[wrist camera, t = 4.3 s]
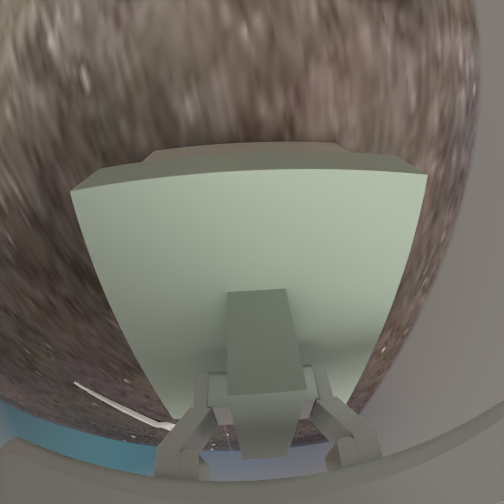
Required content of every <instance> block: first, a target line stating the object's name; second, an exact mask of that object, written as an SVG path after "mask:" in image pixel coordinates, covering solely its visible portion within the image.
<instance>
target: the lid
mask: <svg viewBox="0 0 504 504" xmlns="http://www.w3.org/2000/svg"><path fill="white" fill-rule="evenodd" d="M427 176H428V175H427V174H426V173H424V172H422V171H421V170H419V169H417V168H416V167H414V166H412V165H410V164H409V163H407V162H405V161H403V160H402V159H400V158H398V157H396V156H392V155H381V154H368V153H351V152H327V151H263V152H239V153H222V154H208V155H197V156H186V157H177V158H168V159H160V160H152V161H145V162H138V163H131V164H125V165H119V166H113V167H108V168H102V169H98V170H97V171H96V172H94V173H93V174H92V175H90V176H89V177H88V178H86V179H85V180H84V181H82V182H81V183H80V184H79V185H77V186H76V187H75V188H73V189H72V190H71V191H70V194H71V197H72V201H73V205H74V208H75V212H76V215H77V218H78V222H79V225H80V228H81V231H82V234H83V237H84V240H85V243H86V246H87V249H88V252H89V255H90V257H91V260H92V263H93V265H94V268H95V271H96V273H97V276H98V278H99V281H100V283H101V286H102V288H103V290H104V293H105V295H106V297H107V300H108V302H109V304H110V307H111V309H112V311H113V313H114V315H115V317H116V320H117V322H118V324H119V326H120V328H121V330H122V332H123V334H124V336H125V338H126V340H127V342H128V344H129V346H130V348H131V350H132V351H133V353H134V355H135V357H136V359H137V361H138V362H139V364H140V366H141V368H142V370H143V371H144V373H145V375H146V376H147V378H148V380H149V382H150V383H151V385H152V387H153V388H154V390H155V391H156V393H157V395H158V396H159V398H160V399H161V401H162V403H163V404H164V406H165V407H166V409H167V410H168V412H169V413H170V415H171V416H172V418H173V419H181V418H182V416H183V415H184V414H185V413H186V411H187V410H188V409H189V408H193V403H194V389H195V376H196V373H197V372H205V371H210V372H218V371H227V397H228V401H229V405H230V410H231V414H232V418H233V422H234V426H235V430H236V434H237V438H238V442H239V446H240V450H241V454H242V458H243V459H259V458H273V457H283V456H287V454H288V451H289V448H290V445H291V442H292V439H293V436H294V433H295V429H296V426H297V423H298V420H299V416H300V413H301V409H302V406H303V402H304V399H305V395H306V392H307V386H306V381H305V376H304V371H303V367H302V365H307V364H316V363H323V364H324V365H325V368H326V371H327V375H328V379H329V382H330V386H331V390H332V394H333V397H338V398H339V399H340V400H341V401H342V402H344V403H345V404H346V403H347V401H348V399H349V398H350V396H351V394H352V392H353V390H354V388H355V386H356V384H357V383H358V381H359V379H360V377H361V375H362V373H363V371H364V369H365V366H366V364H367V362H368V360H369V358H370V356H371V354H372V352H373V349H374V347H375V345H376V343H377V340H378V338H379V336H380V333H381V331H382V329H383V326H384V324H385V321H386V319H387V316H388V314H389V311H390V309H391V306H392V303H393V301H394V298H395V295H396V292H397V290H398V287H399V284H400V281H401V278H402V275H403V272H404V269H405V266H406V262H407V259H408V256H409V252H410V249H411V246H412V242H413V238H414V235H415V231H416V227H417V223H418V219H419V215H420V211H421V206H422V202H423V197H424V192H425V187H426V182H427Z"/></svg>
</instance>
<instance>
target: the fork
mask: <svg viewBox="0 0 504 504" xmlns="http://www.w3.org/2000/svg"><path fill="white" fill-rule="evenodd" d="M74 384H76V385H77V386H79V387H81V388H82V389H84V390H85V391H87V392H89V393H90V394H92V395H94V396H95V397H97V398H99V399H101V400H102V401H104V402H106V403H108V404H110V405H111V406H113V407H115V408H117V409H119V410H121V411H123V412H125V413H127V414H129V415H131V416H133V417H135V418H137V419H139V420H141V421H143V422H145V423H147V424H150V425H152V426H154V427H162V428H165V429H167V430H169V431H171V430H172V429H173V427H174V426H175V424H172V423H169V422H157V421H155V420H153V419H150V418H148V417H146V416H144V415H141V414H139V413H137V412H135V411H133V410H131V409H129V408H126V407H124V406H122V405H120V404H118V403H116V402H113V401H111V400H109V399H107V398H105V397H103V396H101V395H99V394H97V393H95V392H93V391H92V390H90V389H88V388H86V387H84V386H82V385H81V384H79V383H77V382H74Z"/></svg>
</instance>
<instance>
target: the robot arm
mask: <svg viewBox="0 0 504 504" xmlns="http://www.w3.org/2000/svg"><path fill="white" fill-rule="evenodd" d="M302 367H303V371H304V376H305V381H306V386H307V392H306V395H305V399H304V402H303V406H302V409H301V413H300V416H299V419H306V418H309V419H310V420H311V422H312V423H313V424H314V425H315V426H316V427H317V428H318V429H319V430H320V431H321V433H322V434H323V435H324V436H325V437H326V438H327V439H328V440H329V441H330V442H331V443H332V444H333V445H334V446H333V448H332V449H331V450H330V451H329V453H328V454H327V455H326V457H325V461H326V467H327V472H322V473H316V474H310V475H304V476H297V477H290V478H281V479H270V480H258V481H257V480H256V481H221V482H220V481H209V466H208V465H207V463H206V462H205V461H204V460H203V458H202V457H201V456H200V455H199V454H200V453H201V451H202V450H203V449H204V447H205V446H206V444H207V442H208V441H209V439H210V438H211V436H212V435H213V433H214V432H215V430H216V429H217V427H218V425H231V424H234V422H233V418H232V414H231V410H230V405H229V401H228V397H227V371H218V372H210V371H205V372H197V373H196V376H195V389H194V403H193V408H189V409H188V410H187V411H186V413H185V414H184V415H183V416H182V418H181V419H180V420H179V421H178V422H177V424H176V425H175V426H174V427H173V429H172V430H171V431H170V432H169V433H168V435H167V436H166V437H165V438H164V439H163V440H162V442H161V443H160V444H159V445H158V446H157V454H156V465H155V476H154V477H153V476H146V475H141V474H135V473H130V472H125V471H119V470H115V469H110V468H106V467H102V466H98V465H95V464H91V463H87V462H84V461H80V460H77V459H74V458H71V457H68V456H65V455H62V454H59V453H56V452H54V451H51V450H48V449H46V448H43V447H41V446H38V445H36V444H34V443H31V442H29V441H26V440H24V439H22V438H19V437H15V438H13V439H12V440H10V441H8V442H7V443H6V444H5V445H3V446H2V447H1V448H0V504H504V401H502V402H500V403H498V404H496V405H495V406H493V407H491V408H490V409H488V410H486V411H485V412H483V413H481V414H480V415H478V416H476V417H474V418H473V419H471V420H469V421H467V422H465V423H463V424H462V425H460V426H458V427H456V428H454V429H452V430H450V431H448V432H446V433H443V434H441V435H439V436H437V437H435V438H433V439H430V440H428V441H425V442H423V443H421V444H418V445H416V446H413V447H410V448H408V449H405V450H403V451H400V452H397V453H394V454H391V455H388V456H385V457H383V456H382V452H381V449H380V445H379V442H378V438H377V434H376V431H375V429H374V428H373V427H371V426H370V425H369V424H368V423H367V422H366V421H364V420H363V419H362V418H361V417H360V416H359V415H357V414H356V413H355V412H354V411H353V410H352V409H350V408H349V407H348V406H347V405H346V404H345V403H344V402H342V401H341V400H340V399H339V398H338V397H333V394H332V390H331V386H330V382H329V379H328V375H327V371H326V368H325V365H324V364H323V363H316V364H307V365H302Z"/></svg>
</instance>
